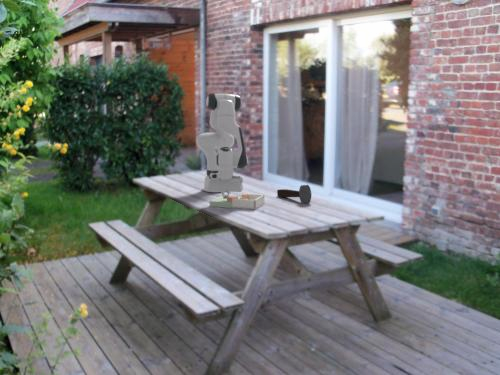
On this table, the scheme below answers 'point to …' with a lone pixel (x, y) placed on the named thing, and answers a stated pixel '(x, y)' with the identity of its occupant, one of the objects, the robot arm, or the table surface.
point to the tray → (249, 202)
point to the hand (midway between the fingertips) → (225, 198)
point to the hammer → (297, 193)
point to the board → (221, 202)
